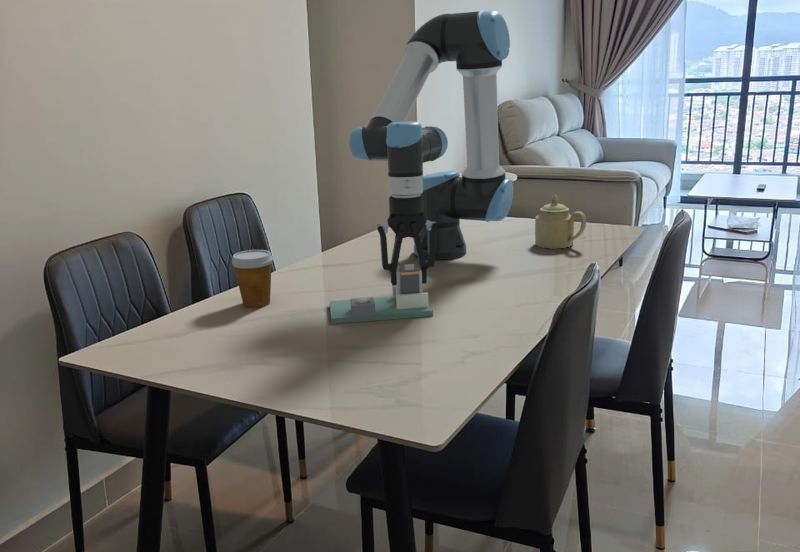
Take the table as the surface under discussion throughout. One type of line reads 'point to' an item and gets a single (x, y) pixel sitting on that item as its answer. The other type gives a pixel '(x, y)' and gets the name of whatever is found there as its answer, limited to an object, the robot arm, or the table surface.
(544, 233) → the pale yellow ceramic pot
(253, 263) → the disposable coffee cup
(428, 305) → the board
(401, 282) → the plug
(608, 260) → the table surface
